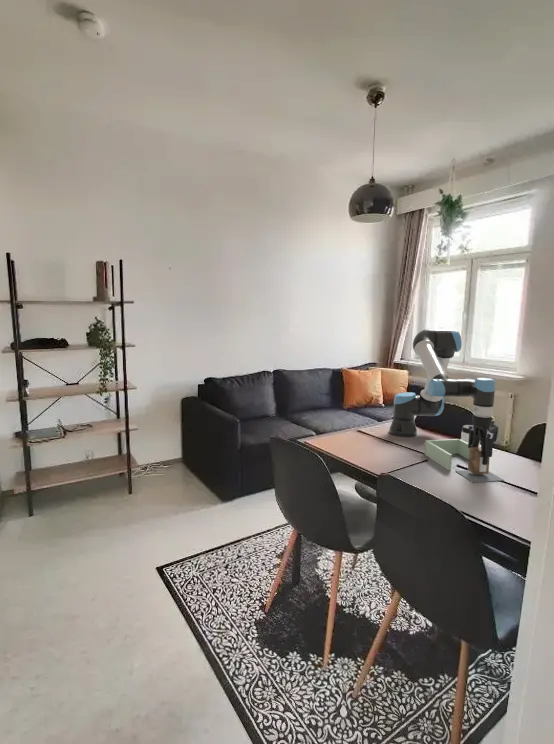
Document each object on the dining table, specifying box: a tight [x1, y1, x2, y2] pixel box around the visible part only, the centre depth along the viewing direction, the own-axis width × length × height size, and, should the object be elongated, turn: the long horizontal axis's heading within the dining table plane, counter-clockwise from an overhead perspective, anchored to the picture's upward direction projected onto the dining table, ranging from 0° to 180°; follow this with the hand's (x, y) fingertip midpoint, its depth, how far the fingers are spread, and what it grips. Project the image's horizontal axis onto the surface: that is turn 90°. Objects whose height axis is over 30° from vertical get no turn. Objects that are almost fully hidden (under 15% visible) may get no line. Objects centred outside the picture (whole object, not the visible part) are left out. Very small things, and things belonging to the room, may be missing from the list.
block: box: [467, 446, 491, 474], centre depth 171 cm, size 5×6×10 cm
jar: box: [460, 424, 481, 447], centre depth 204 cm, size 9×8×12 cm
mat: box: [455, 469, 505, 484], centre depth 171 cm, size 12×14×1 cm
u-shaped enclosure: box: [423, 438, 469, 471], centre depth 189 cm, size 21×18×7 cm
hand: (478, 468), depth 172 cm, fingers closed on block, 5 cm apart
